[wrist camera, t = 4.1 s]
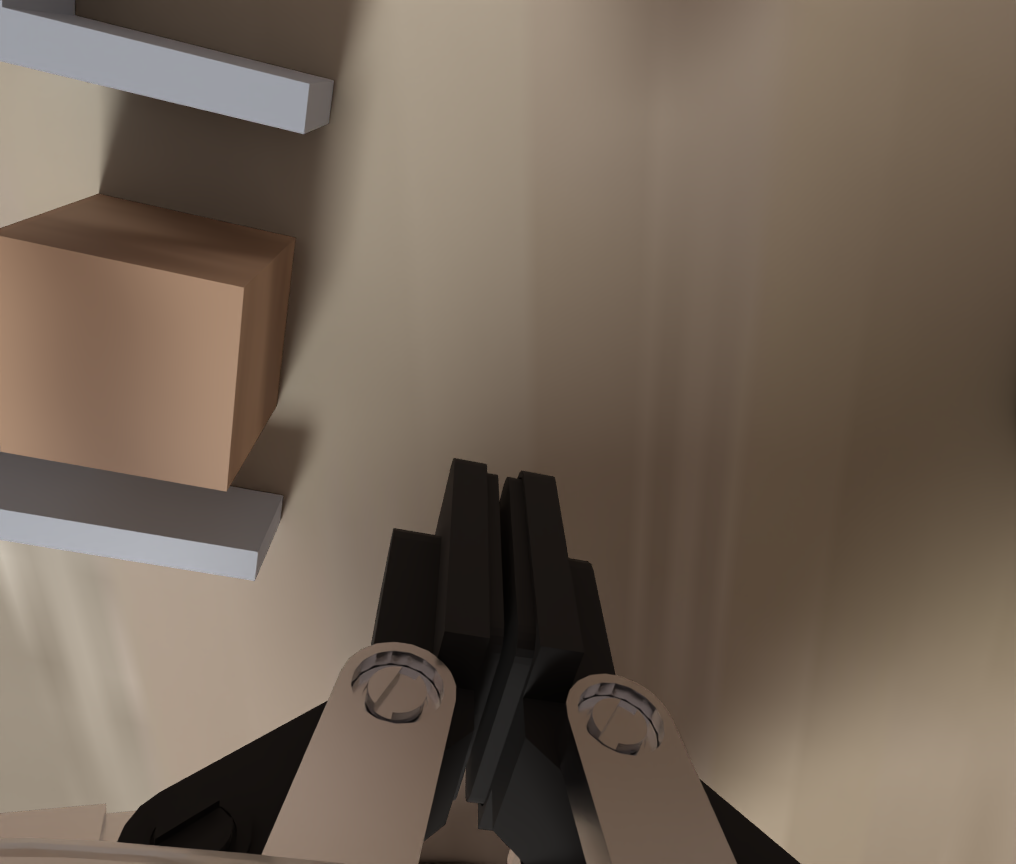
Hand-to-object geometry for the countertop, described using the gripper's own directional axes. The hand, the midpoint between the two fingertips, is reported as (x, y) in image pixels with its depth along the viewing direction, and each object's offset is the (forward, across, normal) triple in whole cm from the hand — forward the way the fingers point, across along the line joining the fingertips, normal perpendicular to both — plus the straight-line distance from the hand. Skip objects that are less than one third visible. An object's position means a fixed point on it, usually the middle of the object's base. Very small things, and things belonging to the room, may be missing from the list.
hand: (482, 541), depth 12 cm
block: (+10, +8, +1) cm, 13 cm away
